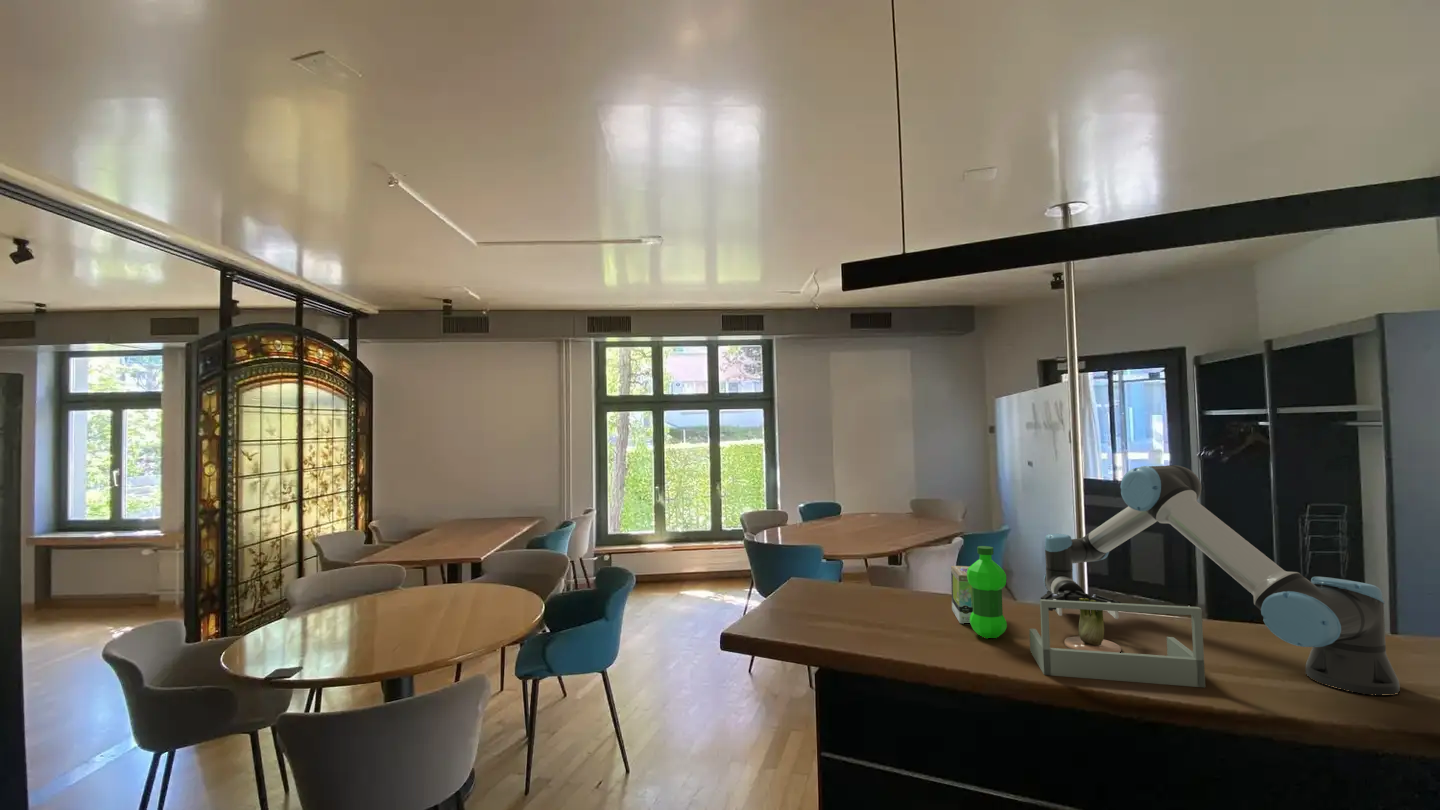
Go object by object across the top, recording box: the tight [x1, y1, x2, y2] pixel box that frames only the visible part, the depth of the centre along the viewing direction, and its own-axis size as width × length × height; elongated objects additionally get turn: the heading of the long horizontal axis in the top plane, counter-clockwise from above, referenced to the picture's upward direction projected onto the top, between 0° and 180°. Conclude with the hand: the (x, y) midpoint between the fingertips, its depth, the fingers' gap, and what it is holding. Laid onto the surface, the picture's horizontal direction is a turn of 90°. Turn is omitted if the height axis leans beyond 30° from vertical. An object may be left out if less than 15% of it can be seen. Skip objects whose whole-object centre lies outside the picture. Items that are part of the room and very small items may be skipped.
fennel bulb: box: [1078, 598, 1105, 645], centre depth 170 cm, size 6×5×12 cm
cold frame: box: [1029, 598, 1206, 688], centre depth 155 cm, size 16×33×18 cm, turn 74°
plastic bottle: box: [967, 545, 1008, 639], centre depth 181 cm, size 10×10×25 cm
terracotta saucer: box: [1064, 635, 1122, 653], centre depth 170 cm, size 13×13×1 cm
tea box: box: [950, 565, 973, 624], centre depth 198 cm, size 15×10×15 cm, turn 168°
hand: (1088, 612), depth 171 cm, fingers open, 13 cm apart
